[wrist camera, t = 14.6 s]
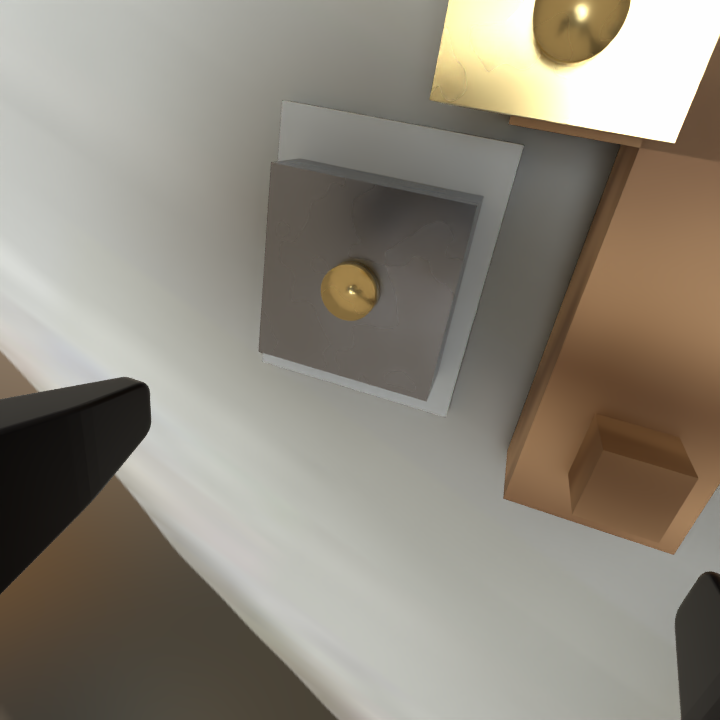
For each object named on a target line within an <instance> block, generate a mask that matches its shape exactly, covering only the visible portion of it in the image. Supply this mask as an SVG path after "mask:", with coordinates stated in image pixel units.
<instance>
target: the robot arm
mask: <svg viewBox="0 0 720 720" xmlns="http://www.w3.org/2000/svg"><path fill="white" fill-rule="evenodd" d="M150 426H151V406H150V390H149V388H148V386H147V385H146V384H145V383H144V382H141V381H138V380H135V379H132V378H128V377H121V378H115V379H110V380H104V381H99V382H93V383H87V384H82V385H76V386H71V387H65V388H60V389H54V390H49V391H43V392H38V393H32V394H27V395H21V396H17V397H11V398H5V399H0V594H1V593H2V592H3V591H4V590H5V589H6V588H7V587H8V586H9V585H10V584H11V583H12V582H13V581H14V580H15V579H16V578H17V577H18V576H19V575H20V574H21V573H22V572H23V571H24V570H25V569H26V568H27V567H28V566H29V565H30V564H31V563H32V562H33V561H34V560H35V559H36V558H37V557H38V556H39V555H40V554H41V553H42V552H43V551H44V550H45V549H46V548H47V547H48V546H49V545H50V544H51V543H52V542H53V541H54V540H55V539H56V538H57V537H58V536H59V535H60V533H62V531H64V530H65V529H66V527H68V526H69V524H71V523H72V522H73V520H74V519H75V518H76V517H77V516H78V515H79V514H80V513H81V512H82V511H83V510H84V509H85V508H86V507H87V506H88V505H89V504H90V503H91V502H92V500H93V499H94V498H95V497H96V496H97V495H98V494H99V492H100V491H101V490H102V489H103V488H104V487H105V485H106V484H107V483H108V482H109V481H110V479H111V478H112V477H113V476H114V474H115V473H116V472H117V471H118V470H119V468H120V467H121V466H122V465H123V463H124V462H125V461H126V460H127V459H128V457H129V456H130V455H131V454H132V452H133V451H134V450H135V449H136V448H137V446H138V445H139V444H140V443H141V441H142V440H143V439H144V438H145V436H146V435H147V433H148V431H149V429H150ZM675 636H676V651H677V666H678V680H679V695H680V710H681V720H720V574H718V573H715V572H705V573H703V574H702V575H701V576H700V577H699V578H698V580H697V581H696V583H695V584H694V586H693V587H692V589H691V590H690V592H689V593H688V595H687V596H686V598H685V599H684V601H683V602H682V604H681V605H680V607H679V609H678V611H677V614H676V618H675Z"/></svg>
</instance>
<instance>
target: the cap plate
mask: <svg viewBox="0 0 720 720" xmlns="http://www.w3.org/2000/svg"><path fill="white" fill-rule="evenodd" d="M483 198H484V196H480V195H475V194H471V193H466V192H461V191H456V190H451V189H446V188H441V187H437V186H432V185H427V184H422V183H417V182H412V181H408V180H403V179H398V178H393V177H388V176H383V175H379V174H374V173H369V172H364V171H359V170H354V169H350V168H345V167H340V166H335V165H330V164H325V163H321V162H316V161H311V160H306V159H301V158H299V159H291V160H284V161H277V162H271V173H270V188H269V203H268V218H267V233H266V248H265V263H264V278H263V293H262V308H261V323H260V338H259V352H261V353H265V354H268V355H271V356H275V357H278V358H282V359H285V360H288V361H292V362H295V363H298V364H302V365H305V366H308V367H312V368H315V369H319V370H322V371H325V372H329V373H332V374H335V375H339V376H342V377H345V378H349V379H352V380H356V381H359V382H362V383H366V384H369V385H372V386H376V387H379V388H382V389H386V390H389V391H393V392H396V393H399V394H403V395H406V396H409V397H413V398H416V399H419V400H423V401H426V402H427V400H428V398H429V395H430V392H431V390H432V387H433V385H434V382H435V380H436V377H437V374H438V371H439V367H440V363H441V359H442V355H443V352H444V348H445V344H446V340H447V336H448V332H449V329H450V325H451V321H452V317H453V313H454V309H455V306H456V302H457V298H458V294H459V290H460V286H461V283H462V279H463V275H464V271H465V267H466V263H467V260H468V256H469V252H470V248H471V244H472V240H473V237H474V233H475V229H476V225H477V221H478V217H479V214H480V210H481V206H482V202H483Z"/></svg>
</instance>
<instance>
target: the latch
mask: <svg viewBox="0 0 720 720" xmlns="http://www.w3.org/2000/svg"><path fill="white" fill-rule="evenodd" d="M719 35H720V0H449V4H448V9H447V14H446V19H445V24H444V29H443V34H442V39H441V44H440V49H439V54H438V59H437V64H436V69H435V74H434V80H433V85H432V90H431V95H430V100H432V101H436V102H440V103H444V104H448V105H454V106H459V107H465V108H471V109H476V110H482V111H488V112H493V113H499V114H505V115H510V116H516V117H522V118H527V119H533V120H539V121H544V122H550V123H556V124H561V125H567V126H573V127H578V128H584V129H590V130H595V131H601V132H607V133H612V134H618V135H624V136H629V137H635V138H641V139H646V140H653V141H662V142H671V143H675V141H676V138H677V136H678V133H679V131H680V129H681V126H682V124H683V121H684V119H685V117H686V114H687V112H688V109H689V107H690V105H691V102H692V100H693V97H694V95H695V93H696V90H697V88H698V85H699V83H700V81H701V78H702V76H703V73H704V71H705V69H706V66H707V64H708V61H709V59H710V57H711V54H712V52H713V49H714V47H715V45H716V42H717V40H718V37H719Z"/></svg>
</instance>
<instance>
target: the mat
mask: <svg viewBox="0 0 720 720" xmlns="http://www.w3.org/2000/svg"><path fill="white" fill-rule="evenodd" d="M523 147H524V145H522V144H516V143H511V142H506V141H500V140H495V139H490V138H484V137H479V136H474V135H468V134H463V133H458V132H452V131H447V130H442V129H436V128H431V127H426V126H420V125H415V124H410V123H404V122H399V121H394V120H388V119H383V118H378V117H372V116H367V115H361V114H356V113H351V112H345V111H340V110H335V109H329V108H324V107H319V106H313V105H308V104H303V103H297V102H292V101H284V100H282V109H281V122H280V135H279V149H278V161H284V160H291V159H299V158H301V159H306V160H311V161H316V162H321V163H325V164H330V165H335V166H340V167H345V168H350V169H354V170H359V171H364V172H369V173H374V174H379V175H383V176H388V177H393V178H398V179H403V180H408V181H412V182H417V183H422V184H427V185H432V186H437V187H441V188H446V189H451V190H456V191H461V192H466V193H471V194H475V195H480V196H484V198H483V202H482V206H481V210H480V214H479V217H478V221H477V225H476V229H475V233H474V237H473V240H472V244H471V248H470V252H469V256H468V260H467V263H466V267H465V271H464V275H463V279H462V283H461V286H460V290H459V294H458V298H457V302H456V306H455V309H454V313H453V317H452V321H451V325H450V329H449V332H448V336H447V340H446V344H445V348H444V352H443V355H442V359H441V363H440V367H439V371H438V374H437V377H436V380H435V382H434V385H433V387H432V390H431V392H430V395H429V398H428V400H427V402H426V401H423V400H419V399H416V398H413V397H409V396H406V395H403V394H399V393H396V392H393V391H389V390H386V389H382V388H379V387H376V386H372V385H369V384H366V383H362V382H359V381H356V380H352V379H349V378H345V377H342V376H339V375H335V374H332V373H329V372H325V371H322V370H319V369H315V368H312V367H308V366H305V365H302V364H298V363H295V362H292V361H288V360H285V359H282V358H278V357H275V356H271V355H268V354H265V353H263V360H262V362H265V363H268V364H271V365H274V366H278V367H281V368H284V369H288V370H291V371H294V372H297V373H301V374H304V375H307V376H311V377H314V378H317V379H320V380H324V381H327V382H330V383H333V384H337V385H340V386H343V387H347V388H350V389H353V390H356V391H360V392H363V393H366V394H369V395H373V396H376V397H379V398H383V399H386V400H389V401H392V402H396V403H399V404H402V405H405V406H409V407H412V408H415V409H419V410H422V411H425V412H428V413H432V414H435V415H438V416H442V417H445V418H446V415H447V411H448V408H449V404H450V401H451V397H452V394H453V391H454V387H455V384H456V380H457V377H458V373H459V370H460V366H461V363H462V359H463V356H464V352H465V349H466V345H467V342H468V338H469V335H470V331H471V328H472V324H473V321H474V318H475V314H476V311H477V307H478V304H479V300H480V297H481V293H482V290H483V286H484V283H485V279H486V276H487V272H488V269H489V265H490V262H491V258H492V255H493V252H494V248H495V245H496V241H497V238H498V234H499V231H500V227H501V224H502V220H503V217H504V213H505V210H506V206H507V203H508V199H509V196H510V192H511V189H512V186H513V182H514V179H515V175H516V172H517V168H518V165H519V161H520V158H521V154H522V151H523Z"/></svg>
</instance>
